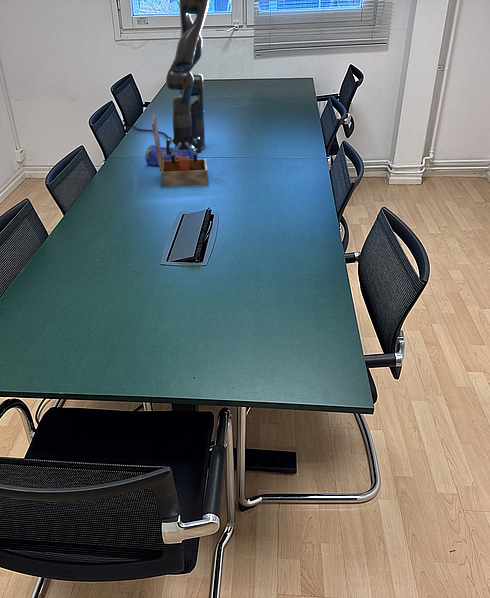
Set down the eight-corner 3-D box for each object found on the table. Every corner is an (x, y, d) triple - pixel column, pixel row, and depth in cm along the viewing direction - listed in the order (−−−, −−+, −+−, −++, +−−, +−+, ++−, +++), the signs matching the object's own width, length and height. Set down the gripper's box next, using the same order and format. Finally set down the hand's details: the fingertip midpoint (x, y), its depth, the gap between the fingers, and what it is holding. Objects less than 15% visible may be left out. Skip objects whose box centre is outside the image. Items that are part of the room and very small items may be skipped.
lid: (155, 113, 221) (153, 113, 221) (153, 123, 210) (151, 124, 210) (162, 159, 232) (161, 159, 232) (162, 171, 221) (160, 171, 221)
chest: (206, 174, 237) (205, 158, 233) (207, 186, 226) (207, 170, 222) (163, 175, 237) (162, 160, 233) (162, 188, 225) (161, 172, 221)
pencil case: (197, 165, 245) (196, 144, 240) (190, 172, 239) (189, 151, 233) (152, 161, 251) (150, 140, 246) (144, 167, 245) (142, 146, 239)
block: (189, 175, 234) (188, 155, 229) (189, 179, 231) (188, 159, 226) (179, 175, 234) (178, 156, 229) (179, 179, 231) (178, 160, 226)
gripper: (199, 120, 223) (201, 159, 232) (164, 122, 222) (167, 160, 231) (200, 126, 216) (201, 165, 226) (164, 127, 216) (167, 167, 225)
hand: (184, 163), depth 229 cm, fingers open, 8 cm apart
